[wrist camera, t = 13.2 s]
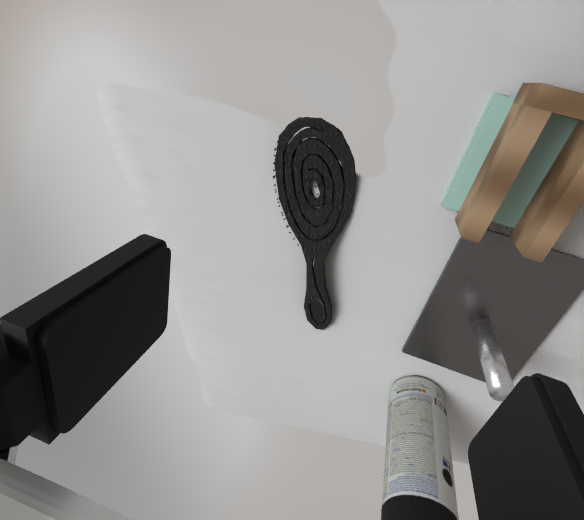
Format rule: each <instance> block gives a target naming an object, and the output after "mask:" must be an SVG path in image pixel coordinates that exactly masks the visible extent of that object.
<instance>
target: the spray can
mask: <svg viewBox="0 0 584 520" xmlns="http://www.w3.org/2000/svg"><path fill="white" fill-rule="evenodd" d="M381 513H382V514H381V520H459V519H458V512H457V503H456V492H455V484H454V476H453V466H452V458H451V449H450V440H449V431H448V423H447V415H446V405H445V398H444V394H443V391H442V389H441V388H440V387H439V386H438V385H437V384H436V383H435V382H434V381H432V380H430V379H428V378H426V377H422V376H416V375H415V376H406V377H402V378H400V379H398V380H397V381H395V382H394V384H393V385H392V387H391V389H390V392H389V404H388V420H387V436H386V452H385V469H384V485H383V501H382V510H381Z"/></svg>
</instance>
